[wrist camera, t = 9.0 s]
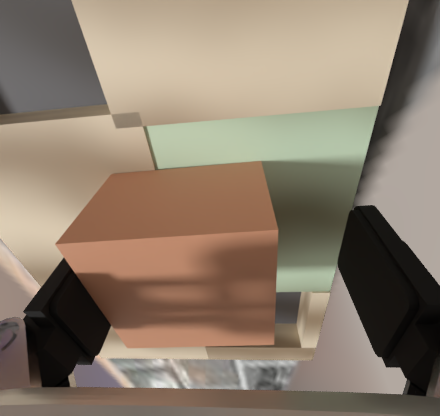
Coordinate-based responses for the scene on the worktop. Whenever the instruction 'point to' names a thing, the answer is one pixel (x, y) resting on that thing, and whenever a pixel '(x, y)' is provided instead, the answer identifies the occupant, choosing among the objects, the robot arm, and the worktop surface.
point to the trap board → (195, 124)
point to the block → (180, 256)
